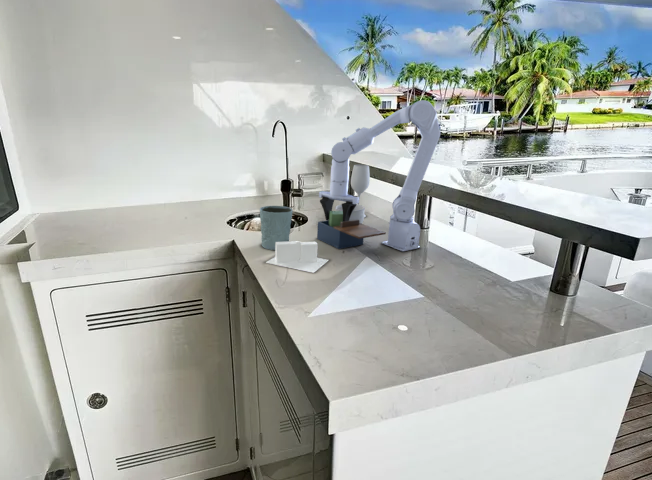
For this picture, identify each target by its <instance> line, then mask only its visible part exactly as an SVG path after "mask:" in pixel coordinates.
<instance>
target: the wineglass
mask: <svg viewBox="0 0 652 480" xmlns="http://www.w3.org/2000/svg"><path fill="white" fill-rule="evenodd" d="M370 176H371V175H370V166H369V165H368V164H354V165H353V167H352V171H351V177H350V186H351V188H352V190H353V191H354V192H355V193H356V194H357V197H359V201H360V199H361V195H362V194H363V193H364V192H365V191H367V189H369V186H370V181H371V180H370V179H371V177H370ZM358 205H360V202H359V203H358ZM366 217H367V215H366V214H364V218H366Z"/></svg>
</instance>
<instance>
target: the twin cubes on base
mask: <svg viewBox="0 0 652 480" xmlns="http://www.w3.org/2000/svg"><path fill="white" fill-rule="evenodd" d="M318 245H319V243H317V241H300V240H291V241H290V240H289V241H287V242H276V245H275V250H274V252H275V254H274V255H275V256H274V257H272V258H270V259H269V260H267V261H266V262H265V263H266V264H269V265H274V266H278V267H279V266H280V267H283V268H284V267H285V268H289V269H294V270H299V271H304V272H308V273H313V274H314V273H315V272H317V271H318V270H320V269H321V267H324V265H326V263H328V261H329V259H326V258H321V257H318V250H319V249H318V248H319V246H318Z"/></svg>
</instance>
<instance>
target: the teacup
mask: <svg viewBox="0 0 652 480" xmlns="http://www.w3.org/2000/svg"><path fill="white" fill-rule="evenodd" d="M334 208H335V211H343V209H342V204H338V205H336V206H335V207H334ZM365 209H366V207H365V206H364V205H362V204H359V205H358V204H357V205H356V207H355V208H354V210H353V212H352V214H351V216H350V219H349V221H350V220H357V219H358V220H360V221H359V223H361V224H363V223H364V220H365V217H364V215H365Z"/></svg>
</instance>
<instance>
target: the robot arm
mask: <svg viewBox="0 0 652 480" xmlns="http://www.w3.org/2000/svg"><path fill="white" fill-rule="evenodd" d="M410 122H411V123H412V124H413V125H414V126H415V127H416V128H417V130H418V132H419V134H420V136H421V139H420V141H419V144H418V146H417V148H416V152H415V154H414V157H413V159H412V163H411V165H410V167H409V169H408V172H407V176H406V178H405V180H404V182H403V184H402V185H403V186H402V188H401V189H400V191H399V194H398V196H397V197H395V198H394V199H393V201H392V210H393V211H392V214H391V215H390V219H389V226H388V233H387V240H384V241H381V244H382V245H385V246H387V247H389V248H392V249H395V250H398V251H399V252H406V251H407V252H408V251H411V250H416V249H417V250H418V249H420V248H421V247H420V245H419V244H420V238H421V225H420V224H419V223H417V222H415V220H414V219H415V218H414V215H415V211H416V209H415V205H416V201H417V197H418V193H419V190H420V187H421V184H422V182H423V180H424V177H425V175H426V172H427V170H428V167H429V165H430V162H431V159H432V157H433V155H434V152H435V150H436V148H437V145H438V142H439V140H440V138H441V129H440V125H439V120H438V112H437V110H436V109H435V107H434V106H433V104H432V103H431V102H430V101H429V100H426V99H421V100H418V101H415V102H414V103H412V104H411V105H407V106H405V107H403V108H400V109H398V110H396V111H395V112H393V113H391V114H389V115H388V116H387V117H385V118H383V119H382V120H380V121H379V122H377V123H376V124H375V125H372V126H371V127H370V128H369V127H365V126H363V127H361V128H360V127H358V128H356V129H355V132H353V133H352V134H350V135H348V136H347V137H342V138H341V141H339V142H336V143H335V144H334V145H332V148H331V152H330V153H331V157H332V159H331V167H330V180H329V181H330V183H329V191H324V190H322V191H319V192H318V198H321V199H319V203H320V205H321V207H322V210H323V213H324V219H325V221H327V220H329V211H333V206H334V203H335V201H339V202H342V203H341V205H342V209H343V221H349V219H350V216H351V214H352V212H353V210H354V208H355V207H356V205H357V204H358V203H359V204H360V200H359V197H358V196H354V195H351V194H349V193H348V191H349V179H350V158H351V155H356V154H358V153H359V152H361V151H363V150H364V149H366V148H368V147H370V146H371V145H373V144H374V141H375V138H376V137H378V136H380V135H382V134H383V133H384V132H386V131H388V130H390V129H392V128H394V127H396V126H397V125H399V124H410Z"/></svg>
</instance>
